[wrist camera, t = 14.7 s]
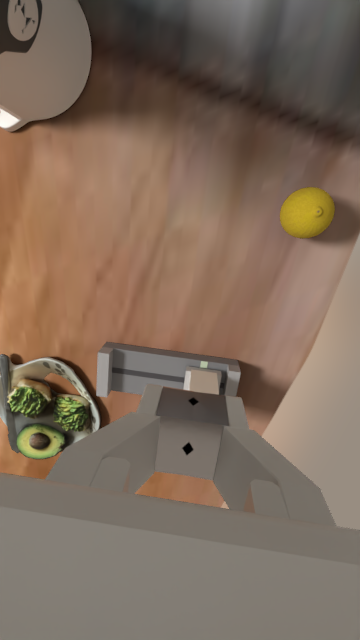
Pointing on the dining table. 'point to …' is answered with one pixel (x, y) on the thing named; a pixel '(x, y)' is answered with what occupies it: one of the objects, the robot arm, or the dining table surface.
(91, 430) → the salad plate
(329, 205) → the lemon
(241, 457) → the robot arm
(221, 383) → the slider track
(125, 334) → the dining table surface
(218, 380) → the slider knob
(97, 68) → the dining table surface
